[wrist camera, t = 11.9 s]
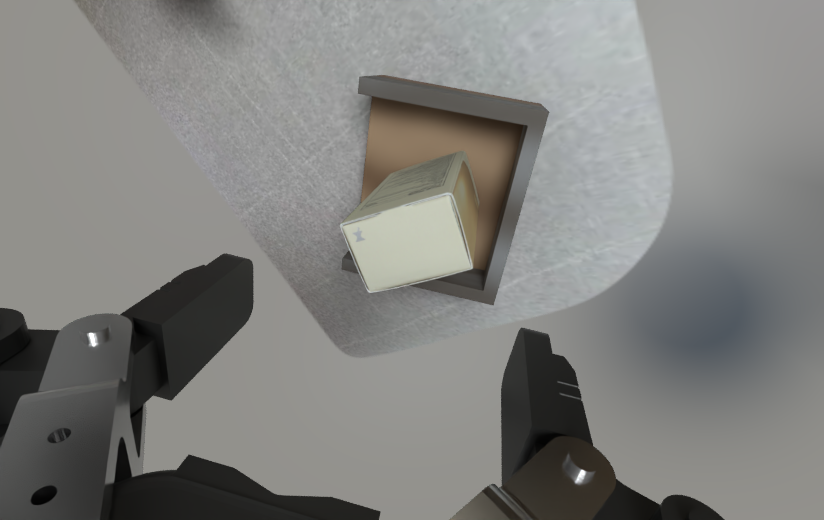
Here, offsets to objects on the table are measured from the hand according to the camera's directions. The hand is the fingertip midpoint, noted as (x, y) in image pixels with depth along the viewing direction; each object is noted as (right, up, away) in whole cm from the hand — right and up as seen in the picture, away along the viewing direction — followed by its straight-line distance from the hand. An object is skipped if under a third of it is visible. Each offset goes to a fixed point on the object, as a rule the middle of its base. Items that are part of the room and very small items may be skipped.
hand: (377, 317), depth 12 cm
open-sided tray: (+4, +8, +22) cm, 24 cm away
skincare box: (+3, +7, +20) cm, 22 cm away
